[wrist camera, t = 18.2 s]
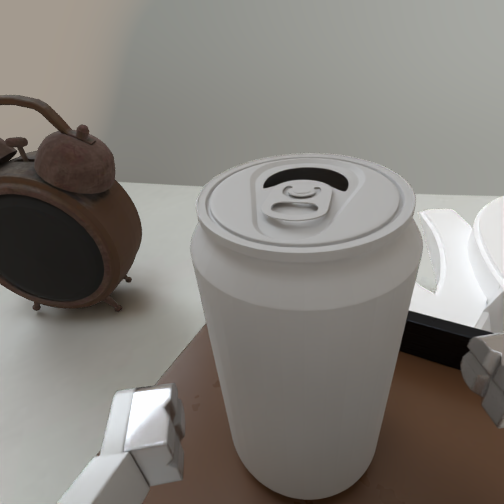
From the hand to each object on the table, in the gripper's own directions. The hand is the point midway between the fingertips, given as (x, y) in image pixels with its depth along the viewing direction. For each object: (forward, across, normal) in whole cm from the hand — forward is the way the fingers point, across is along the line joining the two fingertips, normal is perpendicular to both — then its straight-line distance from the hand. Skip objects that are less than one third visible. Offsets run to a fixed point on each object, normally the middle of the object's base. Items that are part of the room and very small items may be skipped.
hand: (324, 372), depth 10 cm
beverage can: (+3, 0, -8) cm, 8 cm away
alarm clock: (+24, -18, -16) cm, 34 cm away
